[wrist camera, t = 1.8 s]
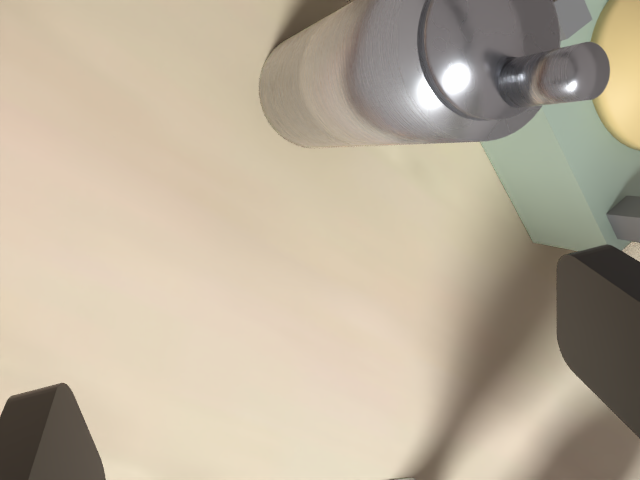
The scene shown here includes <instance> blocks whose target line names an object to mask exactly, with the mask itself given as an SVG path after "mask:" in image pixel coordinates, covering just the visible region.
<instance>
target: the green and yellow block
mask: <svg viewBox="0 0 640 480" xmlns="http://www.w3.org/2000/svg"><path fill="white" fill-rule="evenodd" d="M553 2H554V5H555V8H556V12H557V16H558V21H559V27H560V41H561V43H560V48H562V47H566V46H571V45H575V44H579V43H584V42H593V43H596V44H598V45H599V46H601V47H602V48H603V50H604V51H605V53H606V54H607V57H608V59H609V64H610V77H609V81H608V84H607V86H606V88H605V90H604V91H603V92H602V94H601V95H600V96H598V97H597V98H595V99H592V100H586V101H577V102H568V103H559V104H550V105H542V107H541V109H540V110H539V111H538V112H537V114H536V115H535V116H534V117H533V118H532V119H531V120H530V121H529V122H528V123H527V124H526V125H525V126H523V127H522V128H520V129H519V130H518V131H516V132H514V133H512V134H510V135H508V136H506V137H503V138H500V139H497V140H492V141H482V142H480V143H481V145H482V147H483V148H484V150H485V152H486V154H487V156H488V158H489V160H490V162H491V164H492V165H493V167H494V169H495V171H496V173H497V175H498V177H499V179H500V181H501V183H502V184H503V186H504V188H505V190H506V192H507V194H508V196H509V198H510V200H511V202H512V203H513V205H514V207H515V209H516V211H517V213H518V215H519V217H520V219H521V220H522V222H523V224H524V226H525V228H526V230H527V232H528V234H529V236H530V238H531V239H532V241H533V243H538V244H543V245H548V246H553V247H559V248H564V249H569V250H574V251H582V250H585V249H589V248H593V247H597V246H601V245H606V244H608V245H612V246H614V247H616V248H617V249H619V250H621V251H622V250H623V249H624V248H625V247H626V246H627V245H628V244H629V243H630V242H632V241H633V242H639V243H640V0H553Z"/></svg>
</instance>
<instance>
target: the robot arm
mask: <svg viewBox="0 0 640 480" xmlns="http://www.w3.org/2000/svg"><path fill="white" fill-rule="evenodd" d="M557 340H558V344H559V348H560V351H561V353H562V356H563V358H564V360H565V362H566V363H567V365H568V366H569V368H570V369H571V370H572V371H573V372H574V373H575V374H576V375H577V376H578V377H579V378H580V379H581V380H582V381H583V382H584V383H585V384H586V385H587V386H588V387H589V388H590V389H591V390H592V391H593V392H594V393H595V394H596V395H597V396H598V397H599V398H600V399H601V400H602V401H603V402H604V403H605V404H606V405H607V406H608V407H609V408H610V409H611V410H612V411H613V412H614V413H615V414H616V415H617V416H618V417H619V418H620V419H621V420H622V421H623V422H624V423H625V424H626V425H627V426H628V427H629V428H630V429H631V430H632V431H633V432H634V433H635V434H636V435H637V436H638V437H639V438H640V262H639V261H637V260H635V259H634V258H632V257H630V256H629V255H627V254H626V253H624V252H622V251H621V250H619V249H617V248H616V247H614V246H612V245H608V244H606V245H601V246H597V247H593V248H589V249H585V250H582V251H578V252H574V253H570V254H566V255H563V256H562V257H561V258H560V259H559V261H558V264H557ZM0 480H106V479H105V473H104V468H103V464H102V461H101V458H100V456H99V453H98V451H97V449H96V446H95V444H94V442H93V439H92V437H91V434H90V432H89V430H88V427H87V425H86V423H85V420H84V418H83V416H82V413H81V411H80V408H79V406H78V404H77V401H76V399H75V397H74V395H73V392H72V391H71V389H70V388H69V386H68V385H67V384H65V383H60V384H56V385H52V386H48V387H44V388H40V389H37V390H33V391H29V392H25V393H21V394H17V395H13V396H11V397H10V398H9V399H8V400H7V402H6V404H5V407H4V409H3V411H2V414H1V416H0Z"/></svg>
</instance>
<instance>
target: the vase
mask: <svg viewBox="0 0 640 480" xmlns="http://www.w3.org/2000/svg"><path fill="white" fill-rule="evenodd" d="M396 480H416V479H414V478H404V479H396Z"/></svg>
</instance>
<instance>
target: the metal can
mask: <svg viewBox="0 0 640 480" xmlns="http://www.w3.org/2000/svg"><path fill="white" fill-rule="evenodd" d="M560 43H561V41H560V27H559V21H558V16H557V12H556V8H555V5H554V2H553V0H354V1H353V2H351V3H349V4H347V5H346V6H344V7H342V8H340V9H339V10H337V11H335V12H333V13H332V14H330V15H328V16H327V17H325V18H323V19H321V20H320V21H318V22H316V23H314V24H313V25H311V26H309V27H307V28H306V29H304V30H302V31H300V32H299V33H297V34H295V35H294V36H292V37H290V38H288V39H287V40H285V41H283V42H282V43H280V44H279V45H278V46H277V47H276V48H275V49H274V50H273V51H272V52H271V53H270V55H269V56H268V58H267V59H266V61H265V63H264V66H263V68H262V71H261V75H260V81H259V96H260V102H261V106H262V109H263V112H264V114H265V117H266V118H267V120H268V122H269V123H270V125H271V126H272V127H273V129H274V130H275V131H276V132H277V133H278V134H279V135H280V136H282V137H283V138H284V139H286V140H287V141H289V142H291V143H293V144H295V145H298V146H302V147H307V148H326V147H352V146H378V145H404V144H430V143H456V142H482V141H492V140H497V139H500V138H503V137H506V136H508V135H510V134H512V133H514V132H516V131H518V130H519V129H520V128H522V127H523V126H525V125H526V124H527V123H528V122H529V121H530V120H531V119H532V118H533V117H534V116H535V115H536V114H537V112H538V111H539V110H540V109H541V107H542V105H550V104H559V103H568V102H577V101H586V100H592V99H595V98H597V97H598V96H600V95H601V94H602V92H603V91H604V90H605V88H606V86H607V84H608V81H609V77H610V64H609V59H608V57H607V54H606V53H605V51H604V50H603V48H602V47H601V46H599V45H598V44H596V43H593V42H584V43H579V44H575V45H571V46H566V47H562V48H560Z"/></svg>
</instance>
